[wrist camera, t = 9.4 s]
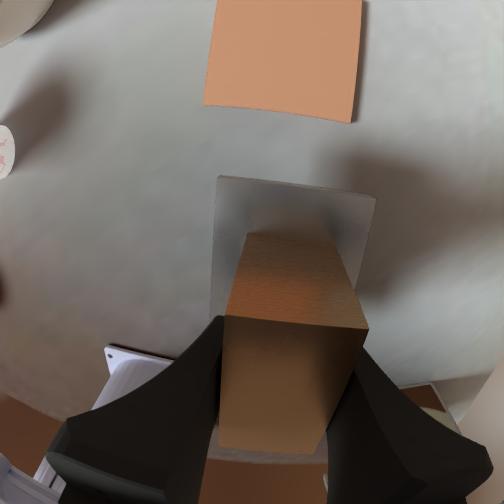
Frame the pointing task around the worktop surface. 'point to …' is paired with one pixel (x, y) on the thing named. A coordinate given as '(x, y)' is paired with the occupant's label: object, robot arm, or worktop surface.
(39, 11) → the lidded jar
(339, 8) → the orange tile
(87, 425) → the robot arm
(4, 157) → the beverage cup
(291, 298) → the tan block on plate
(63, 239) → the worktop surface
